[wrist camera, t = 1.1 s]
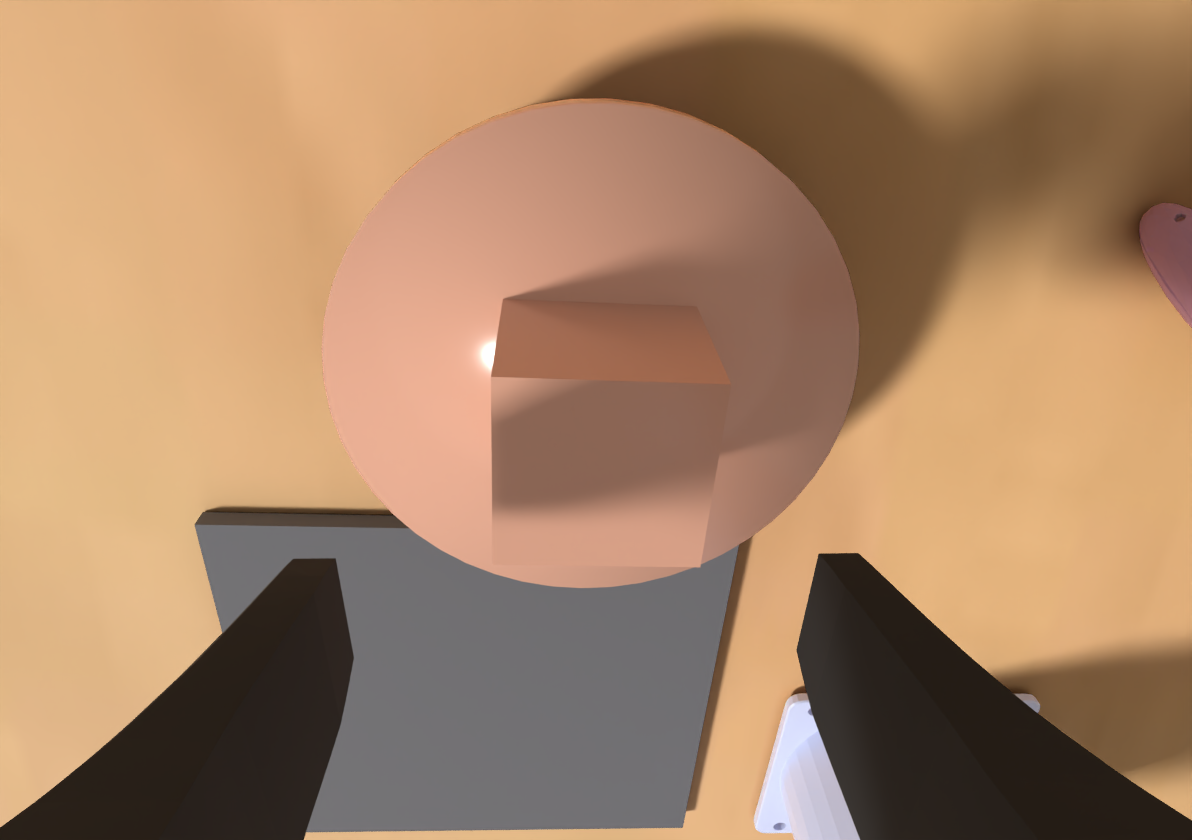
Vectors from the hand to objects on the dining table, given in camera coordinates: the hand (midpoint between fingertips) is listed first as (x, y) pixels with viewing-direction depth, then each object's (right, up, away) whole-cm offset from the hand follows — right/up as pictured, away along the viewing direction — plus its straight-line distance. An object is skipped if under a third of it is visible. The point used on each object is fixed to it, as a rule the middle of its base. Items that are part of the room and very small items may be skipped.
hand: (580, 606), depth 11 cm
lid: (0, +4, +6) cm, 7 cm away
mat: (-4, -7, +15) cm, 17 cm away
